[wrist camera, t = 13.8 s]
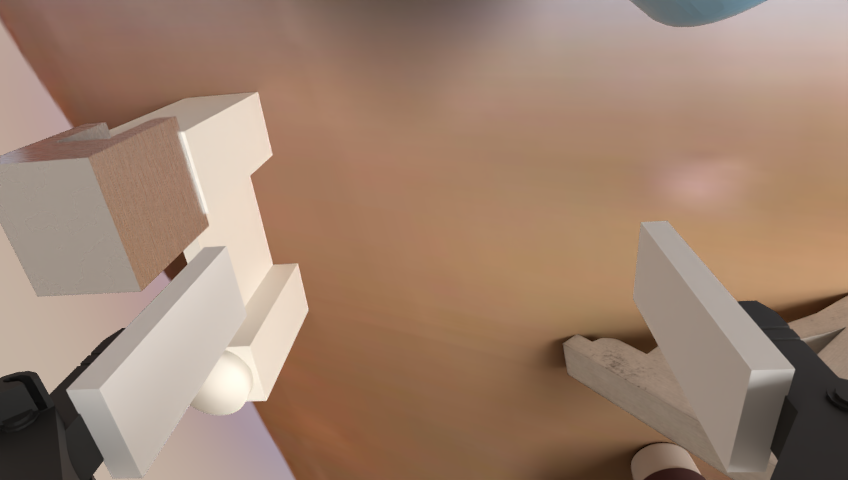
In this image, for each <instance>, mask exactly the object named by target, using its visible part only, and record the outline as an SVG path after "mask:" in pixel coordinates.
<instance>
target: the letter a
mask: <svg viewBox="0 0 848 480" xmlns="http://www.w3.org/2000/svg"><path fill="white" fill-rule="evenodd" d="M787 324H788V325H789V326H790V329H793V330H794V331H795V332H796V333H797V334H798V335H799V336H800V339H801V340H803V341H804V342H805V343H806V344H807V345H808V346H809V347H810V348H811V349H812V350H813V351H814V352H815V353H816V354H817V355H818V356H819V357H820V358H821V360H822V361H823V362H824V363H825V364H826V365H827V366H828V367H829V368H830V369H831V370H832V371H833V372H834V373H835V374H836V375H837V376H838V377H839V378H843V379H847V380H848V295H847V296H846V297H844V298H842V299H841V300H839V301H837V302H835V303H834V304H832V305H830V306H828V307H827V308H825V309H823V310H821V311H820V312H818V313H816V314H813V315H810V316H807V317H804V318H801V319H798V320H795V321H792V322H789V323H787ZM563 348H564V355H565V361H566V367H567V373H568V375H570V376H572V377H573V378H575V379H576V380H578V381H579V382H581V383H583V384H584V385H586V386H587V387H589V388H590V389H592V390H593V391H595V392H597V393H598V394H600V395H601V396H603V397H604V398H606V399H608V400H609V401H611V402H612V403H614V404H615V405H617V406H619V407H620V408H622V409H623V410H625V411H626V412H628V413H630V414H631V415H633V416H634V417H636V418H637V419H639V420H641V421H642V422H644V423H645V424H647V425H648V426H650V427H652V428H653V429H655V430H656V431H658V432H659V433H661V434H663V435H664V436H666V437H667V438H669V439H670V440H672V441H674V442H675V443H677V444H678V445H680V446H681V447H683V448H684V449H686V450H688V451H689V452H691V453H692V454H694V455H695V456H697V457H699V458H700V459H702V460H703V461H705V462H706V463H708V464H710V465H711V466H713V467H714V468H716V469H717V470H719V471H721V472H722V473H724V474H725V475H727V476H728V477H730V478H732V479H733V480H770V478H771V476H772V474H773V471H774V469H775V466H776V464H777V462H778V460H777V458H776V457H775V455H774V454H773V452H771V455H770V458H769V462H768V465H767V469H766V472H727V471H726V469H725V468H724V466H723V464H722V462H721V460H720V458H719V456H718V455H717V453H716V451H715V449H714V447H713V445H712V444H711V442H710V440H709V438H708V436H707V434H706V433H705V431H704V429H703V427H702V425H701V423H700V421H699V420H698V418H697V416H696V414H695V412H694V410H693V409H692V407H691V405H690V403H689V401H688V399H687V398H686V396H685V394H684V392H683V390H682V388H681V386H680V385H679V383H678V381H677V379H676V377H675V375H674V374H673V372H672V370H671V368H670V366H669V364H668V363H667V361H666V359H665V357H664V355H663V353H662V351H661V350H660V348H659V346H657V347H656V348H655V349H653V350H652V351H651V352H649V353H648V354H646V353H644V352H642V351H640V350H638V349H636V348H634V347H632V346H630V345H628V344H626V343H624V342H622V341H620V340H618V339H613V338H600V339H598V340H595V341H593V342H592V341H590V340H588V339H586V338H584V337H582V336H580V335H579V334H578V335H575V336H573V337H572V338H570V339H569V340H567V341H566V342H564V343H563Z"/></svg>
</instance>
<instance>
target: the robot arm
mask: <svg viewBox="0 0 848 480" xmlns="http://www.w3.org/2000/svg"><path fill="white" fill-rule="evenodd" d="M630 1H631V2H632V3H634V4H635V5H636V6H637V7H638V8H640V9H641V10H642V11H643V12H644V13H646V14H647V15H648V16H649V17H650V18H652V19H653V20H655V21H657V22H660V23H662V24H665V25H669V26H674V27H694V26H700V25H705V24H710V23H714V22H717V21H721V20H724V19H726V18H729V17H732V16H734V15H737V14H739V13H742V12H744V11H746V10H748V9H751V8H753V7H755V6H757V5H759V4H761V3H763V2H765V1H767V0H630ZM633 300H634V302H635V304H636V305H637V307H638V309H639V311H640V313H641V315H642V316H643V318H644V320H645V322H646V324H647V326H648V328H649V329H650V331H651V333H652V335H653V337H654V339H655V340H656V342H657V344H658V346H659V348H660V350H661V351H662V353H663V355H664V357H665V359H666V361H667V363H668V364H669V366H670V368H671V370H672V372H673V374H674V375H675V377H676V379H677V381H678V383H679V385H680V386H681V388H682V390H683V392H684V394H685V396H686V398H687V399H688V401H689V403H690V405H691V407H692V409H693V410H694V412H695V414H696V416H697V418H698V420H699V421H700V423H701V425H702V427H703V429H704V431H705V433H706V434H707V436H708V438H709V440H710V442H711V444H712V445H713V447H714V449H715V451H716V453H717V455H718V456H719V458H720V460H721V462H722V464H723V466H724V468H725V469H726V471H727V472H766V469H767V465H768V462H769V458H770V455H771V452H773V454H774V455H775V457H776V458H777V460H778V462H777V464H776V466H775V469H774V471H773V474H772V476H771V478H770V480H848V380H847V379H843V378H839V377H838V376H837V375H836V374H835V373H834V372H833V371H832V370H831V369H830V368H829V367H828V366H827V365H826V364H825V363H824V362H823V361H822V360H821V358H820V357H819V356H818V355H817V354H816V353H815V352H814V351H813V350H812V349H811V348H810V347H809V346H808V345H807V344H806V343H805V342H804V341H803V340H801V339H800V336H799V335H798V334H797V333H796V332H795V331H794V330H793V329H790V326H789V325H788V324H787V323H786V322H785V321H784V320H783V319H782V318H781V317H780V316H779V314H778V313H777V312H775V311H773V310H771V309H770V308H768V307H766V306H765V305H763V304H761V303H759V302H758V301H736V300H735V299H734V298H733V296H732V295H731V294H730V293H729V292H728V291H727V289H726V288H725V287H724V286H723V285H722V284H721V283H720V281H719V280H718V279H717V278H716V277H715V276H714V274H713V273H712V272H711V271H710V270H709V269H708V267H707V266H706V265H705V264H704V263H703V262H702V261H701V259H700V258H699V257H698V256H697V255H696V254H695V252H694V251H693V250H692V249H691V248H690V247H689V245H688V244H687V243H686V242H685V241H684V240H683V239H682V237H681V236H680V235H679V234H678V233H677V232H676V230H675V229H674V228H673V227H672V226H671V225H670V223H669V222H668V221H655V222H641V226H640V235H639V245H638V255H637V265H636V275H635V284H634V294H633ZM246 317H247V313H246V310H245V306H244V303H243V300H242V296H241V293H240V290H239V286H238V283H237V280H236V276H235V273H234V270H233V266H232V263H231V259H230V256H229V253H228V249H227V246H216V247H204V248H203V249H202V250H201V251H200V252H199V253H198V254H197V255H196V256H195V257H194V258H193V259H192V260H191V261H190V262H189V263H188V264H187V266H186V267H185V268H184V269H183V270H182V271H181V272H180V273H179V274H178V275H177V276H176V277H175V278H174V279H173V280H172V281H171V282H170V283H169V284H168V285H167V286H166V287H165V289H163V290H162V291H161V292H160V293H159V294H158V295H157V296H156V298H155V299H154V300H153V301H152V302H151V303H150V304H149V305H148V306H147V307H146V308H145V309H144V310H143V311H142V312H141V313H140V314H139V315H138V316H137V317H136V318H135V319H134V320H133V321H132V323H130V324H129V325H128V326H127V327H126V328H122V329H120V330H119V331H117V332H116V333H114V334H113V335H111V336H110V337H108V338H106V339H105V340H103V341H102V342H101V343H100V345H98V347H96V348H95V350H93V351H92V353H91V355H89V356H87V358H86V359H85V360H84V361H82V363H81V366H78V367H77V368H76V369H75V370H74V371H73V372H72V373H71V374H70V375H69V376H68V377H67V378H66V379H65V380H64V381H63V382H62V383H61V384H60V385H59V386H58V387H57V388H56V389H55V390H54V391H53V392H52V393H51V394H50V395H49V394H48V392H47V390H46V389H45V387H44V385H43V383H42V382H41V379H40V378H39V376H38V374H37V373H35V372H30V371H25V372H17V373H14V374H10V375H7V376H4V377H1V378H0V480H96V479H95V478H94V476H93V474H94V472H95V471H96V470H97V468H98V467H99V466H100V464H101V463H102V462H103V461H104V463H105V465H106V467H107V469H108V471H109V473H110V474H111V476H112V478H143V477H144V476H145V474H146V472H147V471H148V469H149V468H150V466H151V465H152V463H153V461H154V460H155V458H156V457H157V455H158V454H159V452H160V450H161V449H162V447H163V446H164V444H165V443H166V441H167V440H168V438H169V437H170V435H171V433H172V432H173V430H174V429H175V427H176V426H177V424H178V423H179V421H180V419H181V418H182V416H183V415H184V413H185V411H186V410H187V408H188V407H189V405H190V404H191V402H192V401H193V399H194V398H195V396H196V394H197V393H198V391H199V390H200V388H201V387H202V385H203V384H204V382H205V380H206V379H207V377H208V376H209V374H210V373H211V371H212V370H213V368H214V366H215V365H216V363H217V362H218V360H219V359H220V357H221V355H222V354H223V352H224V351H225V349H226V348H227V346H228V345H229V343H230V341H231V340H232V338H233V337H234V335H235V334H236V332H237V331H238V329H239V327H240V326H241V324H242V323H243V321H244V320H245V318H246Z"/></svg>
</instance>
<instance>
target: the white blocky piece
mask: <svg viewBox="0 0 848 480" xmlns="http://www.w3.org/2000/svg"><path fill="white" fill-rule="evenodd" d="M173 116H176V118H177V121H178V124H179V128H180V131H181V134H182V137H183V141H184V144H185V147H186V150H187V154H188V157H189V160H190V163H191V167H192V170H193V173H194V176H195V180H196V183H197V186H198V189H199V193H200V196H201V199H202V202H203V206H204V209H205V212H206V215H207V219H208V222H209V226H208V227H207V228H206V229H205V230H204V231H203V232H202V233H201V234H200V235H199V236H198V237H197V238H196V239H195V240H194V241H193V242H192V243H191V244H190V245H189V246H188V247H187V248H186V249H185V250H184V251H183V252H184V255H185V258H186V261H187V264H188V263H189V262H190V261H191V260H192V259H193V258H194V257H195V256H196V255H197V254H198V253H199V252H200V251H201V250H202V249H203V248H204V247H216V246H227V249H228V253H229V256H230V259H231V263H232V266H233V270H234V273H235V276H236V280H237V283H238V286H239V290H240V293H241V296H242V300H243V303H244V306H245V310H246V313H247V317H246V318H245V320H244V321H243V323H242V324H241V326H240V327H239V329H238V331H237V332H236V334H235V335H234V337H233V338H232V340H231V341H230V343H229V345H228V346H227V348H226V349H225V351H224V352H223V354H222V355H221V357H220V359H219V360H218V362H217V363H216V365H215V366H214V368H213V370H212V371H211V373H210V374H209V376H208V377H207V379H206V380H205V382H204V384H203V385H202V387H201V388H200V390H199V391H198V393H197V394H196V396H195V398H194V399H193V401H192V402H191V404H190V406H192V407H193V408H195V409H197V410H199V411H201V412H204V413H207V414H211V415H228V414H232V413H234V412H236V411H238V410H239V409H240V408H241V407H242V406H243V405H244V403H245V401H267V398H268V396H269V394H270V392H271V390H272V388H273V386H274V383H275V381H276V379H277V377H278V375H279V373H280V370H281V368H282V366H283V364H284V362H285V360H286V358H287V355H288V353H289V351H290V349H291V347H292V345H293V342H294V340H295V338H296V336H297V334H298V332H299V330H300V327H301V325H302V323H303V321H304V319H305V317H306V315H307V312H308V310H309V309H308V305H307V301H306V297H305V292H304V288H303V284H302V279H301V275H300V271H299V266H298V263H294V264H275V265H273V263H272V259H271V255H270V251H269V247H268V243H267V239H266V236H265V232H264V228H263V224H262V220H261V216H260V212H259V208H258V204H257V201H256V197H255V193H254V189H253V185H252V181H251V177H250V175H251V174H252V173H254V172H255V171H256V170H257V169H258V168H259V167H260V166H261V165H262V164H263V163H264V162H266V161H267V160H268V159H269V158H270V157H271V156H272V150H271V146H270V142H269V138H268V133H267V129H266V125H265V120H264V116H263V112H262V107H261V103H260V99H259V95H258V92H250V93H238V94H227V95H216V96H204V97H193V98H185V99H182V100H180V101H177V102H175V103H173V104H170V105H168V106H166V107H163V108H161V109H158V110H156V111H154V112H151V113H149V114H147V115H144V116H142V117H139V118H137V119H135V120H132V121H130V122H128V123H125V124H123V125H120V126H118V127H116V128H113V129H111V130H109V132H110V135H111V137H113V136H115V135H117V134H120V133H122V132H124V131H127V130H129V129H131V128H133V127H136V126H138V125H140V124H142V123H145V122H147V121H149V120H151V119H154V118H161V117H173Z"/></svg>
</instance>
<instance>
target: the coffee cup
mask: <svg viewBox="0 0 848 480" xmlns="http://www.w3.org/2000/svg"><path fill="white" fill-rule="evenodd" d="M631 471H632V475H633V479H634V480H706V479H705V478H704V477H703V476H702V475H701V474H700V472H699V470H698V469H697V467H696V465H695V464H694V462H693V460H692V458H691V457H690V455H689V454H688V452H687V451H686V450H685V449H683V448H681V447H680V446H677V445H675V444H670V443H657V444H652V445H649V446H647V447H645V448H643V449H641V450H640V451H639V452H637V453H636V455H635V456H634V457H633V459H632V462H631Z"/></svg>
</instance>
